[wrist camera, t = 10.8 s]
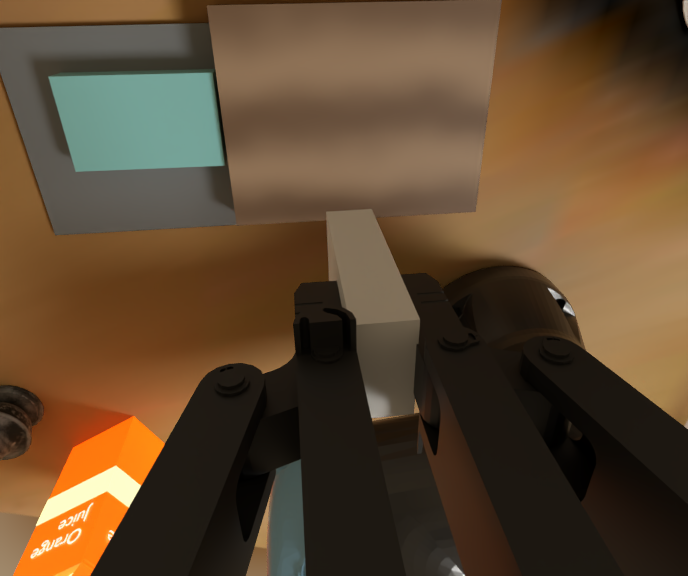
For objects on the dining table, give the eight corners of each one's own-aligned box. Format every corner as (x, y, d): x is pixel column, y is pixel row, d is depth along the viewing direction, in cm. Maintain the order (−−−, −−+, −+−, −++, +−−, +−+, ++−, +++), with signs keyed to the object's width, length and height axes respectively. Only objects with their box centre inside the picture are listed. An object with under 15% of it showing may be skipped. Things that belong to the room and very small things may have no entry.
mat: (241, 222, 39) (240, 224, 39) (57, 233, 38) (55, 235, 38) (215, 22, 32) (214, 22, 32) (-12, 27, 31) (-15, 28, 31)
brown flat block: (463, 198, 40) (475, 211, 38) (239, 210, 39) (236, 225, 36) (484, -1, 33) (501, -1, 31) (212, 5, 32) (206, 5, 29)
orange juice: (134, 415, 48) (52, 646, 31) (191, 466, 52) (146, 694, 35) (70, 448, 49) (-43, 688, 32) (131, 495, 53) (59, 729, 36)
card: (227, 157, 36) (224, 165, 35) (85, 163, 35) (75, 171, 34) (216, 68, 33) (212, 72, 32) (60, 72, 32) (48, 76, 31)
